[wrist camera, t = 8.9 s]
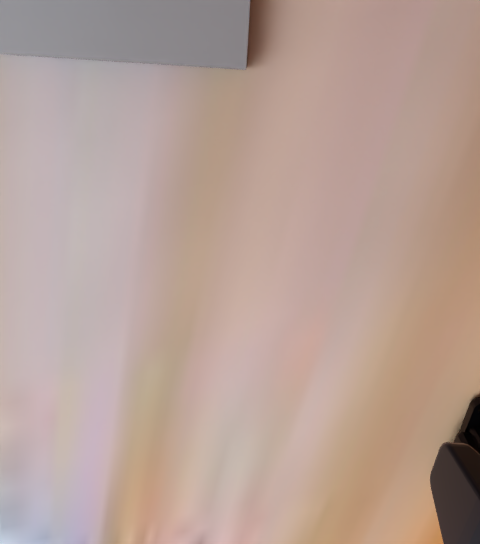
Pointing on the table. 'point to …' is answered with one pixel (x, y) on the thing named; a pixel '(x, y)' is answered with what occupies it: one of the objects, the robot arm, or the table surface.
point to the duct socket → (129, 31)
